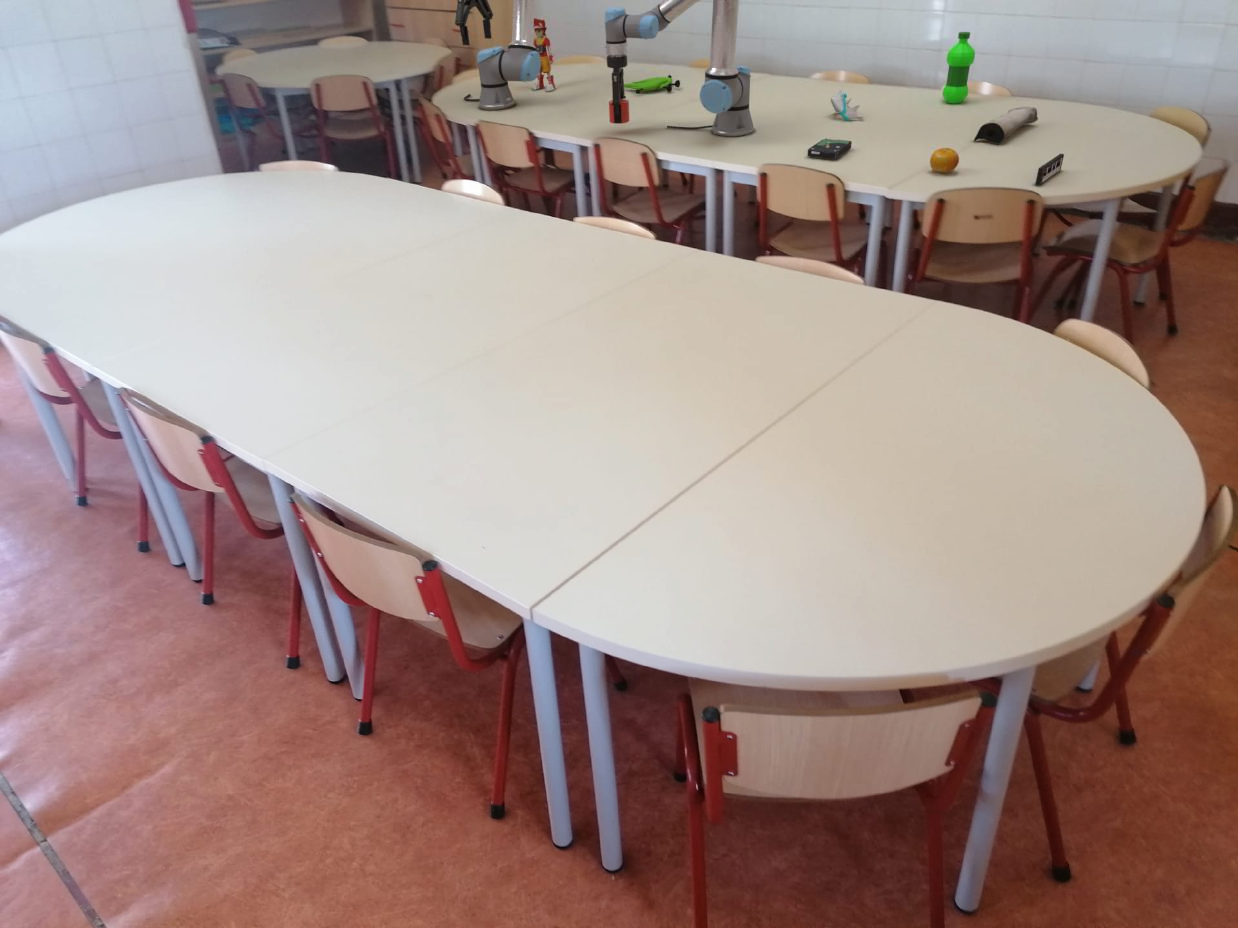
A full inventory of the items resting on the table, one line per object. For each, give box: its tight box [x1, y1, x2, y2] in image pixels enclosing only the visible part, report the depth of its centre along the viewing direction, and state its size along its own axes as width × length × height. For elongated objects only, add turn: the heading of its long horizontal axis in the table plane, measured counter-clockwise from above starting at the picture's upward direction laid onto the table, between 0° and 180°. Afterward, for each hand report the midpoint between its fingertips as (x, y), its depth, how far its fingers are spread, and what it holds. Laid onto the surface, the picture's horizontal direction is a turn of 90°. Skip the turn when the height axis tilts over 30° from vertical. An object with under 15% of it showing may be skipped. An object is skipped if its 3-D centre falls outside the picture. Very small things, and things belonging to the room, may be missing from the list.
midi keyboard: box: [1035, 153, 1065, 186], centre depth 273 cm, size 18×1×5 cm, turn 138°
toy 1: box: [532, 17, 556, 92], centre depth 403 cm, size 12×9×30 cm
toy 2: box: [624, 74, 681, 95], centre depth 401 cm, size 28×5×30 cm
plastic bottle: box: [942, 31, 976, 104], centre depth 348 cm, size 10×10×25 cm
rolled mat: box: [973, 106, 1039, 145], centre depth 314 cm, size 30×9×10 cm
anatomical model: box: [830, 89, 864, 121], centre depth 343 cm, size 15×10×10 cm
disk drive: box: [807, 138, 852, 160], centre depth 306 cm, size 10×3×15 cm
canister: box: [608, 99, 630, 125], centre depth 338 cm, size 8×8×7 cm
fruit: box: [929, 147, 960, 174], centre depth 283 cm, size 8×8×8 cm
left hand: (477, 42), depth 342 cm, fingers open, 13 cm apart
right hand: (619, 120), depth 340 cm, fingers closed on canister, 7 cm apart
